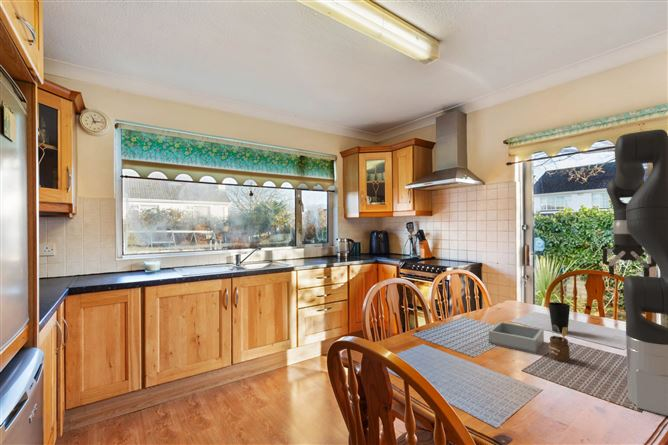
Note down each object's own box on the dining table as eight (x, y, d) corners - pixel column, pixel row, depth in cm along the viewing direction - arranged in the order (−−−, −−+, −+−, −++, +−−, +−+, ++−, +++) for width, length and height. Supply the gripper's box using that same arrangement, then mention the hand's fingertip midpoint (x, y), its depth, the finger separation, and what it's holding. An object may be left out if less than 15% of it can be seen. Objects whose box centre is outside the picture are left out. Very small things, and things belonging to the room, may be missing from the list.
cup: (553, 333, 135) (552, 305, 135) (546, 328, 142) (545, 301, 142) (574, 335, 132) (573, 306, 133) (566, 329, 140) (565, 302, 140)
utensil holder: (560, 354, 113) (560, 321, 113) (574, 362, 107) (573, 327, 107) (545, 355, 113) (544, 321, 113) (558, 362, 106) (557, 327, 107)
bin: (535, 354, 114) (535, 340, 114) (488, 343, 125) (488, 331, 125) (543, 341, 125) (543, 329, 125) (500, 333, 136) (500, 321, 136)
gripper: (600, 232, 116) (602, 276, 115) (655, 232, 106) (657, 280, 105) (602, 232, 121) (603, 274, 121) (654, 232, 111) (656, 278, 111)
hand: (628, 277), depth 113 cm, fingers open, 8 cm apart
